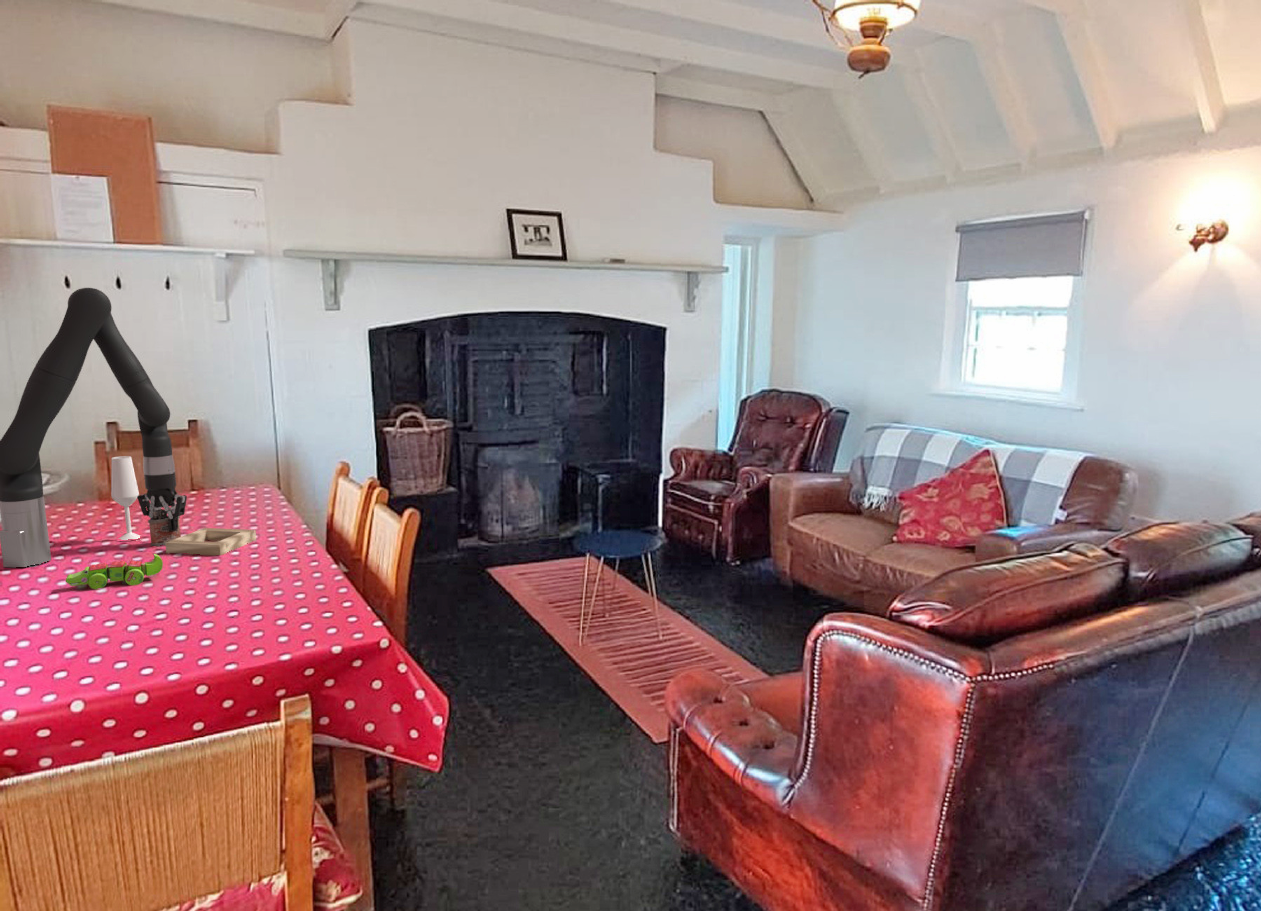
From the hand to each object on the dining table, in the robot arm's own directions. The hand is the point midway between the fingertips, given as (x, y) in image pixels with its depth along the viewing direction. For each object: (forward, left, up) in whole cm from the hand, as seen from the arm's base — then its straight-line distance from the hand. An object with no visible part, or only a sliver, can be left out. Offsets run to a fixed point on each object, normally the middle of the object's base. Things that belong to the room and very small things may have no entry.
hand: (165, 530), depth 224 cm
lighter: (0, 0, -4) cm, 4 cm away
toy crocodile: (-34, -13, -4) cm, 37 cm away
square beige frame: (-1, -15, -4) cm, 15 cm away
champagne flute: (+3, +14, -4) cm, 15 cm away
